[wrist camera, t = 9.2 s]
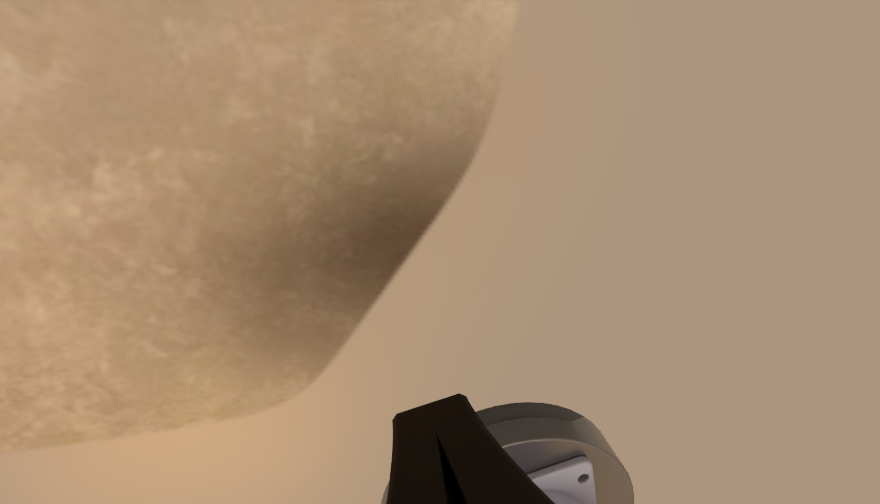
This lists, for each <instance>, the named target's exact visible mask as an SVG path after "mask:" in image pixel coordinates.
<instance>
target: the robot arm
mask: <svg viewBox="0 0 880 504" xmlns="http://www.w3.org/2000/svg"><path fill="white" fill-rule="evenodd" d="M386 504H597V501H596V492H595V484H594V475H593V466H592V464H591V462H590V461H589V459H588V458H587V457H585V456H579V457H576V458H573V459H570V460H567V461H564V462H561V463H558V464H555V465H552V466H550V467H547V468H544V469H541V470H538V471H535V472H532V473H529V474H526V473H525V472H524V471H523V470H522V469H521V468H520V467H519V466H518V464H517V463H516V462H515V461H514V460H513V459H512V458H511V457H510V456H509V455H508V453H507V452H506V451H505V450H504V449H503V448H502V446H501V445H500V444H499V443H498V442H497V440H496V439H495V438H494V437H493V435H492V434H491V433H490V432H489V430H488V429H487V428H486V426H485V425H484V424H483V422H482V421H481V420H480V418H479V417H478V415H477V414H476V412H475V411H474V409H473V408H472V406H471V405H470V403H469V401H468V399H467V397H466V396H464V395H461V394H456V395H453V396H450V397H447V398H444V399H441V400H438V401H435V402H432V403H429V404H426V405H422V406H420V407H416V408H413V409H410V410H407V411H404V412H401V413H398V414H396V416H395V418H394V419H393V450H392V463H391V472H390V481H389V488H388V495H387V501H386Z"/></svg>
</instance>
